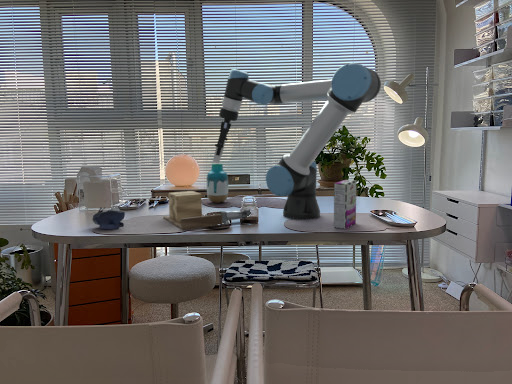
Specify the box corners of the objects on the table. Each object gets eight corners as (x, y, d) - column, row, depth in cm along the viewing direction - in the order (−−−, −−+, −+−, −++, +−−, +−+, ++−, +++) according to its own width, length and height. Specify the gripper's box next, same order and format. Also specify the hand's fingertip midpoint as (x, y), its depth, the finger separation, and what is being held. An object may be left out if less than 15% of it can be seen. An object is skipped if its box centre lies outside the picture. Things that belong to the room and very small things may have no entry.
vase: (232, 201, 201) (231, 163, 198) (221, 204, 192) (221, 165, 189) (214, 200, 206) (213, 162, 203) (203, 203, 196) (202, 164, 193)
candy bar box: (343, 222, 153) (344, 179, 151) (356, 223, 151) (357, 180, 148) (332, 227, 144) (333, 182, 142) (345, 229, 141) (347, 183, 139)
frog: (99, 224, 152) (98, 204, 151) (130, 224, 151) (129, 204, 150) (87, 230, 142) (85, 209, 141) (120, 230, 142) (119, 209, 141)
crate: (168, 217, 161) (167, 192, 160) (193, 214, 166) (192, 190, 165) (177, 222, 152) (176, 196, 151) (202, 219, 157) (201, 193, 156)
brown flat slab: (163, 219, 160) (163, 208, 159) (198, 215, 167) (198, 205, 166) (182, 231, 140) (181, 219, 139) (221, 226, 147) (221, 214, 146)
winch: (223, 226, 148) (223, 212, 147) (216, 223, 153) (216, 210, 152) (257, 221, 155) (257, 209, 154) (250, 219, 160) (250, 206, 159)
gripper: (223, 102, 173) (211, 149, 179) (218, 110, 149) (205, 163, 156) (240, 107, 173) (228, 153, 180) (237, 116, 150) (223, 168, 157)
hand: (217, 158), depth 168 cm, fingers open, 13 cm apart
